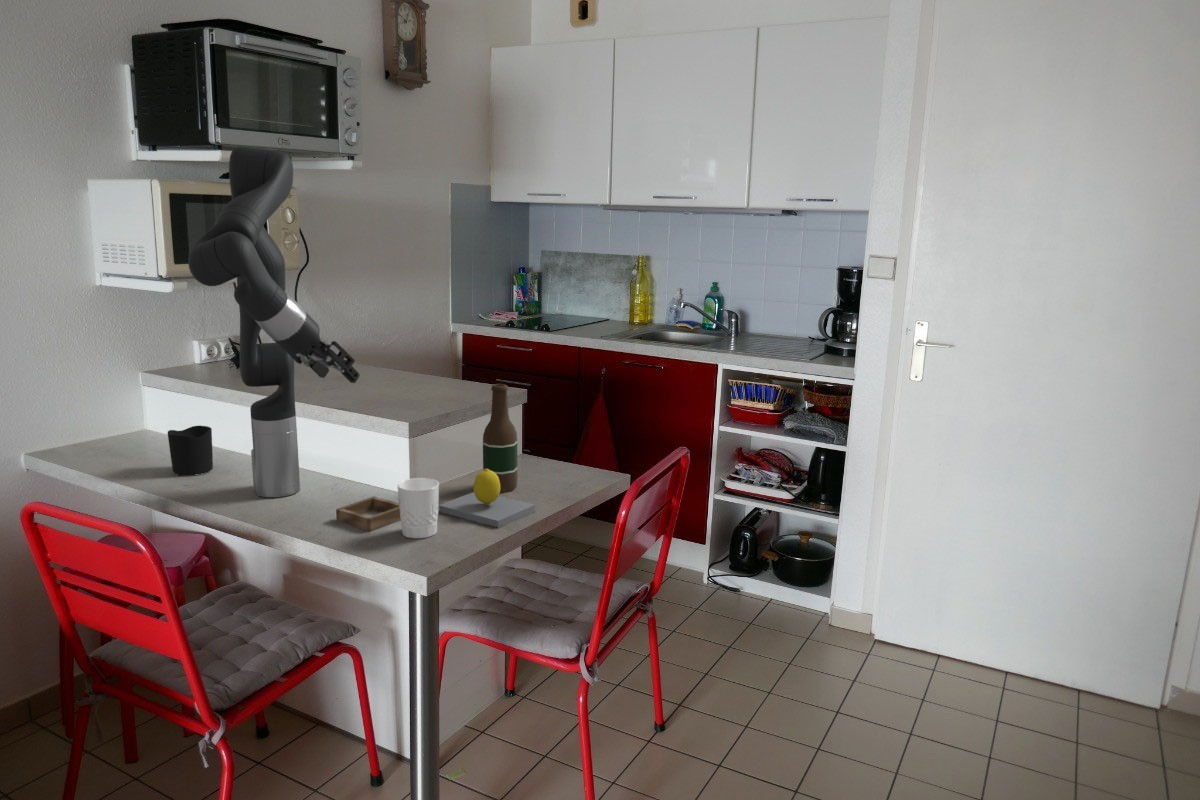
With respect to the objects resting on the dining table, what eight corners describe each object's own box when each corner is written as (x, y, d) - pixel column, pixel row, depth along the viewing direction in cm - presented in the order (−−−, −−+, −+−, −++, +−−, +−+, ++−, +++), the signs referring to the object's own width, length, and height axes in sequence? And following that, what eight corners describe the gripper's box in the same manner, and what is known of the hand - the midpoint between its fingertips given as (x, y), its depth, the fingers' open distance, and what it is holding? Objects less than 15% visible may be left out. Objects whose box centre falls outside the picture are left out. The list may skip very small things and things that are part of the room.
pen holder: (207, 476, 205) (204, 435, 203) (165, 477, 204) (161, 435, 202) (219, 465, 214) (216, 425, 212) (179, 465, 213) (175, 425, 211)
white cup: (442, 525, 177) (441, 477, 174) (436, 540, 169) (435, 490, 167) (403, 525, 176) (401, 477, 174) (395, 540, 169) (393, 490, 166)
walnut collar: (336, 520, 178) (336, 509, 178) (374, 507, 186) (373, 496, 186) (371, 531, 173) (370, 519, 172) (408, 517, 181) (407, 505, 180)
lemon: (473, 501, 186) (473, 465, 185) (500, 501, 187) (500, 464, 186) (473, 510, 181) (473, 472, 179) (500, 509, 182) (500, 472, 180)
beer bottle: (484, 494, 196) (483, 388, 191) (482, 483, 204) (480, 381, 198) (519, 492, 198) (519, 387, 192) (515, 482, 205) (515, 381, 200)
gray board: (439, 512, 184) (439, 505, 184) (477, 497, 194) (477, 490, 194) (498, 528, 176) (498, 520, 175) (534, 511, 185) (535, 504, 185)
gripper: (325, 309, 154) (377, 365, 165) (272, 303, 161) (325, 357, 173) (301, 343, 150) (356, 397, 162) (249, 335, 158) (305, 387, 170)
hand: (340, 376), depth 168 cm, fingers open, 8 cm apart
